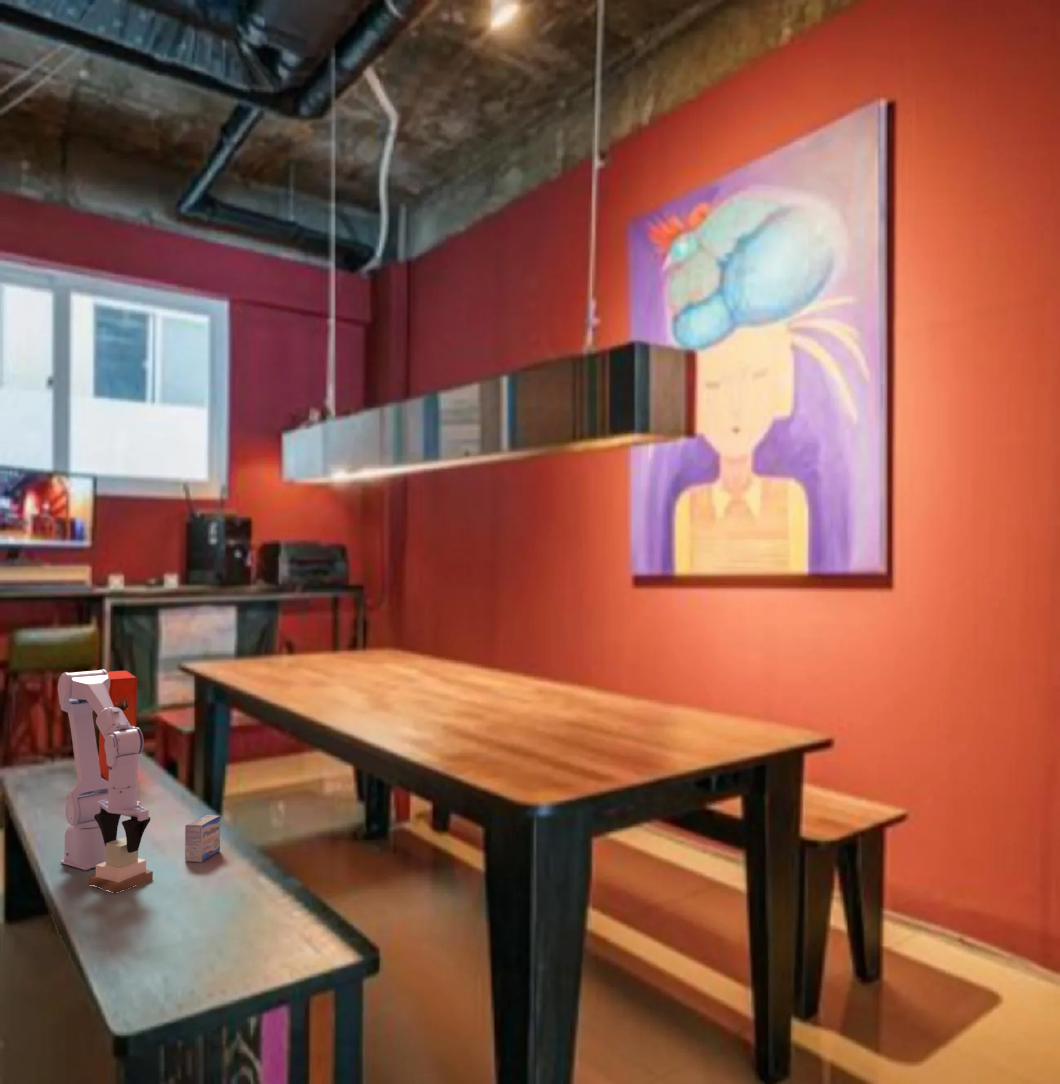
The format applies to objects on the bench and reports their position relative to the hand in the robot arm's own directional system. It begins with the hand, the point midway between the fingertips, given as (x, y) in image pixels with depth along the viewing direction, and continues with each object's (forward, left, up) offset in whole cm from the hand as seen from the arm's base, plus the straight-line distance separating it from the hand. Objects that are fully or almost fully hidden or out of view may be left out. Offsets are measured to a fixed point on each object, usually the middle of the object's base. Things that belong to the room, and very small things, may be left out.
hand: (121, 848), depth 182 cm
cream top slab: (0, 0, -6) cm, 6 cm away
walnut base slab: (0, 0, -8) cm, 8 cm away
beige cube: (0, 0, -3) cm, 3 cm away
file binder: (-77, +54, -8) cm, 95 cm away
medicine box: (+3, +20, -8) cm, 21 cm away
